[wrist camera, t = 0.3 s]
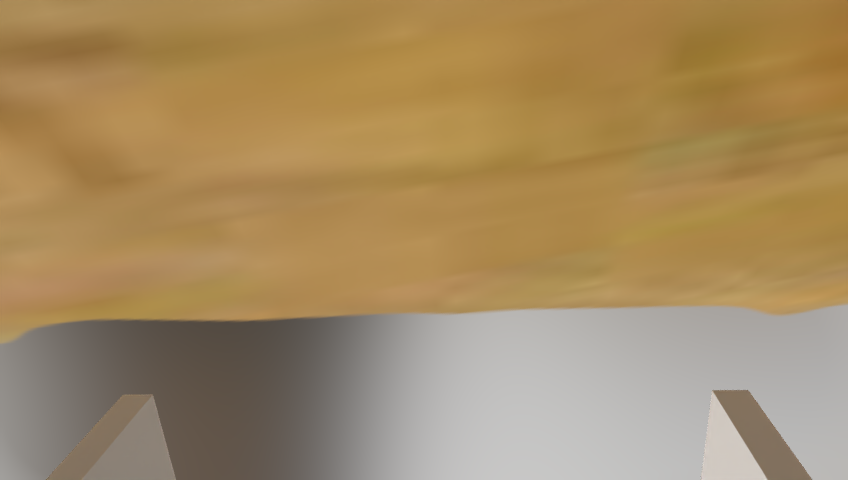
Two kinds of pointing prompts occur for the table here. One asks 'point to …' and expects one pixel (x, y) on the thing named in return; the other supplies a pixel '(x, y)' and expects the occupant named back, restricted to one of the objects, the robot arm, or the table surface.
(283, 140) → the table surface
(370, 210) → the table surface
